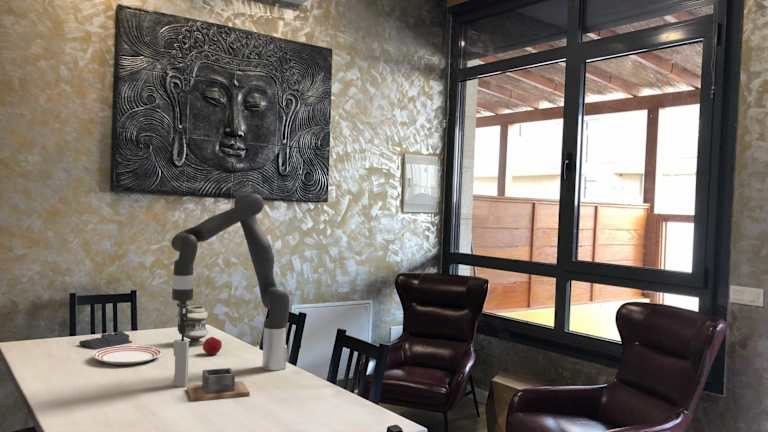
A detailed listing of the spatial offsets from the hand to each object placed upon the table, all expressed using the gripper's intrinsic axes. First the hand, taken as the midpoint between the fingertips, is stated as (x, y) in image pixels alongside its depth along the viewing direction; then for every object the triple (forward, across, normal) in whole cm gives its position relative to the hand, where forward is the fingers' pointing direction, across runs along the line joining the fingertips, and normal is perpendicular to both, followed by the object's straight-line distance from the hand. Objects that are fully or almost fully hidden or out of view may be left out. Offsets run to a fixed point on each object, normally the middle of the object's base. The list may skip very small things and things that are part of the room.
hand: (181, 332), depth 225 cm
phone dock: (+20, -13, -12) cm, 27 cm away
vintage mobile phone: (+20, 0, 0) cm, 20 cm away
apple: (+20, +43, -18) cm, 51 cm away
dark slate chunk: (+21, +76, +26) cm, 83 cm away
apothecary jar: (+20, +65, -13) cm, 69 cm away
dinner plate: (+20, +44, +17) cm, 51 cm away
